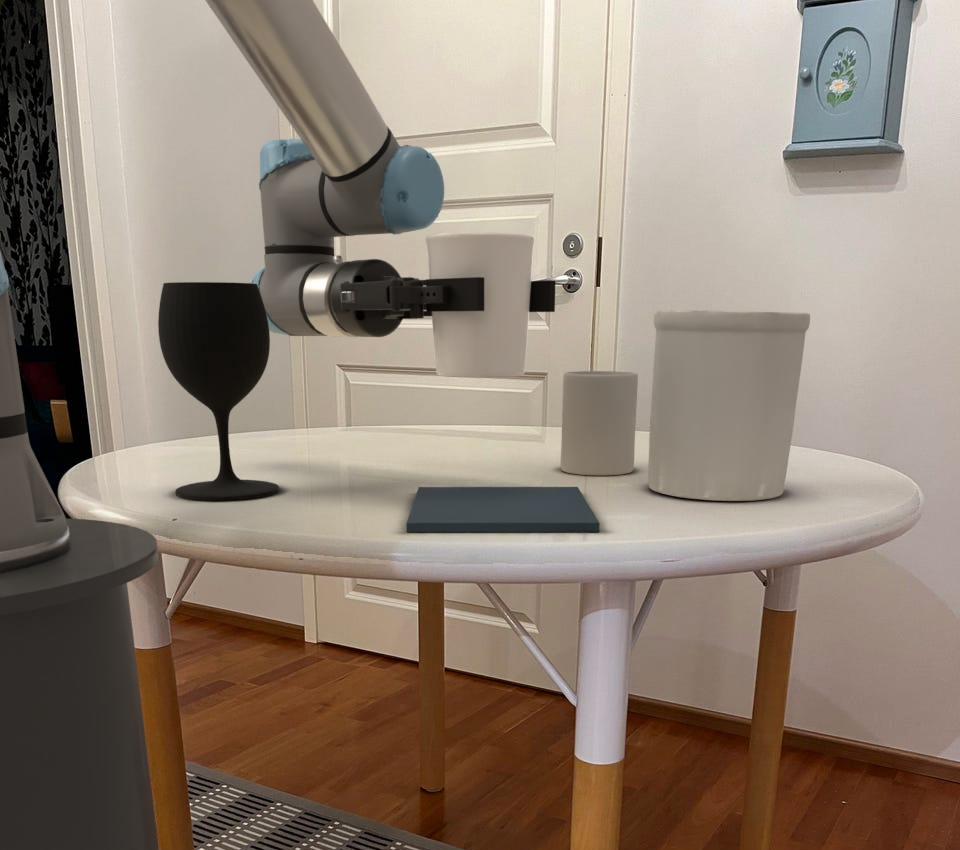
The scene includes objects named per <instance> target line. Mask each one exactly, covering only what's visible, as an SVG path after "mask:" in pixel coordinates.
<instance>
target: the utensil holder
mask: <svg viewBox="0 0 960 850" xmlns="http://www.w3.org/2000/svg"><path fill="white" fill-rule="evenodd" d="M653 315H654V316H653V326H654V329H655V341H654V353H653V354H654V355H653V368H652V369H653V370H652V386H651V403H650V415H649V416H650V417H649V418H650V419H649V438H648V469H647V472H648V473H647V484H648V485H647V486H648V488H649V489H650V490H652V491H654V492H656V493H659V494H663V495H666V496H667V495H668V496H670V497H678V498H684V499H692V500H702V501H703V500H704V501H720V502H721V501H722V502H747V501H762V500H770V499H775V498H778V497H780V496H782V495H783V493H784V491H785V486H786V485H785V484H786V480H787V472H788V464H789V459H790V451H791V445H792V439H793V432H794V424H795V414H796V407H797V401H798V394H799V393H798V392H799V385H800V378H801V371H802V366H803V365H802V364H803V357H804V350H805V340H806V333H807V331H808V330H809V327H810V326H811V325H810V323H811V314H810V313H808V312H794V311H793V312H791V311H790V312H789V311H761V310H760V311H756V310H755V311H753V310H751V311H750V310H748V311H747V310H655V311H654V314H653Z"/></svg>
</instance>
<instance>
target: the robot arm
mask: <svg viewBox="0 0 960 850" xmlns="http://www.w3.org/2000/svg"><path fill="white" fill-rule="evenodd" d="M205 2H206V4H207V5H208V6H209V8H210V9H211V11H212V12H213V14H214V15H215V17H216V18H217V19H218V21H219V22H220V24H221V25H222V27H223V28H224V30H225V31H226V33H227V34H228V35H229V37H230V38H231V40H232V41H233V43H234V44H235V45H236V47H237V48H238V50H239V51H240V53H241V54H242V56H243V57H244V59H245V60H246V61H247V63H248V65H249V67H251V69H252V70H253V72H254V74H255V75H256V76H257V77H258V79H259V80H260V82H261V84H262V85H263V86H264V88H265V89H266V91H267V93H269V95H270V96H271V98H272V99H273V101H274V102H275V103H276V105H277V107H278V108H279V110H280V111H281V112H282V114H283V115H284V117H285V118H286V119H287V122H289V124H290V125H291V127H292V128H293V130H294V132H295V133H296V135H298V137H299V138H289V139H283V138H281V139H273V140H270V141H268V142H267V141H266V142H265V143H264V144H263V145H262V147H261V148H260V151H259V182H258V187H259V188H258V189H259V192H260V203H261V204H260V205H261V215H262V218H261V219H262V230H263V241H264V242H263V243H264V254H263V259H264V260H263V261H264V267H263V268H261V269H259V270H258V271H257V273H256V274H254V276H253V278H252V281H251V283H253V284H257V286H258V288H259V291H260V294H261V297H262V300H263V303H264V307H265V311H266V315H267V319H268V325H269V332H270V333H274V334H278V335H285V336H290V337H331V338H383V337H387V336H389V335H391V334H393V332H395V331H396V330H397V329H398V328H399V326H400V325H401V324H402V322H403V320H417V319H424V317H432V311H484V277H471V278H447V279H429V278H428V279H420V278H418V277H412V276H410V277H409V276H408V277H407V276H406V277H402V276H401V274H400V272H399V271H398V270H397V269H396V268H395V267H394V266H393V265H392V264H391V263H389V262H387V261H386V260H383V259H379V258H368V259H354V260H351V261H349V260H347V261H344V256H342V255H335V238H340V237H341V238H342V237H354V236H367V235H368V236H369V235H370V236H371V235H387V234H391V235H401V234H404V233H411V232H415V231H419V230H424V229H427V228H428V227H430V226H431V225H433V224H434V223H435V221H436V220H437V218H438V217H439V214H440V213H441V211H442V208H443V206H444V202H445V201H444V199H445V181H444V176H443V172H442V169H441V166H440V164H439V162H438V161H437V159H436V158H435V156H434V155H433V154H432V153H431V152H430V151H428V150H427V149H425V148H423V147H421V146H417V145H414V146H413V145H409V144H407V145H406V144H403V145H402V146H401V145H400V144H399V142H398V141H397V138H396V137H395V136H394V133H393V131H392V130H391V129H390V128H389V126H388V124H387V122H386V120H385V119H384V117H383V115H382V113H381V111H380V110H379V109H378V107H377V105H376V103H375V101H374V100H373V99H372V97H371V95H370V94H369V92H368V90H367V88H366V87H365V85H364V84H363V82H362V80H361V79H360V77H359V75H358V73H357V72H356V70H355V68H354V66H353V65H352V63H351V62H350V60H349V58H348V56H347V55H346V53H345V52H344V50H343V48H342V46H341V45H340V43H339V42H338V40H337V37H335V34H334V33H333V31H332V30H331V28H330V26H329V25H328V23H327V21H326V20H325V19H324V17H323V15H322V13H321V12H320V10H319V7H317V5H316V3H315V1H314V0H205ZM2 256H3V255H2V252H1V251H0V573H3V572H8V571H13V570H18V569H22V568H26V567H30V566H34V565H37V564H41V563H44V562H47V561H50V560H52V559H55V558H57V557H59V556H61V555H63V554H64V553H66V552H67V551H68V550H69V549H70V548H71V541H70V534H69V527H68V525H67V521H66V515H65V513H64V511H63V509H62V507H61V505H60V504H59V501H58V499H57V497H56V495H55V493H54V491H53V489H52V487H51V485H50V483H49V481H48V479H47V476H46V474H45V473H44V471H43V469H42V467H41V465H40V463H39V461H38V459H37V457H36V455H35V453H34V451H33V449H32V446H31V444H30V443H31V442H30V437H29V432H28V426H27V419H26V412H25V410H26V409H25V403H24V397H23V396H24V395H23V390H22V389H23V388H22V381H21V375H20V368H19V361H18V353H17V345H16V340H15V339H16V338H15V331H14V325H13V318H12V311H11V303H10V297H9V287H10V280H9V276H8V272H7V270H6V268H5V264H4V261H3V257H2ZM555 311H556V280H531V292H530V307H529V313H556V312H555Z"/></svg>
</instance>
